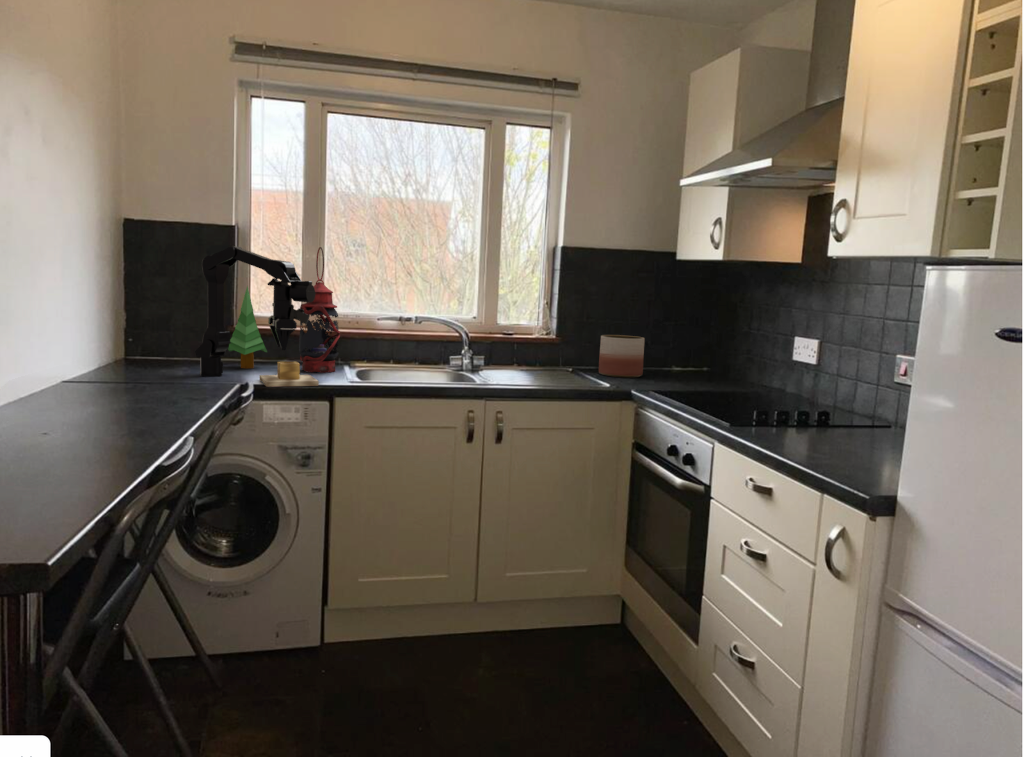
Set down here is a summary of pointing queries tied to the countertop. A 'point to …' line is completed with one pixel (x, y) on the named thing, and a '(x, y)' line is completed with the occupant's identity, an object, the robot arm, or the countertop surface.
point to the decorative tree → (246, 334)
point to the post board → (288, 381)
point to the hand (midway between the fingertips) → (281, 348)
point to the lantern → (319, 330)
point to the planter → (621, 356)
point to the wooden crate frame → (288, 370)
